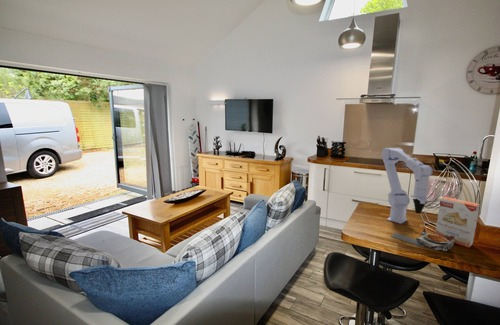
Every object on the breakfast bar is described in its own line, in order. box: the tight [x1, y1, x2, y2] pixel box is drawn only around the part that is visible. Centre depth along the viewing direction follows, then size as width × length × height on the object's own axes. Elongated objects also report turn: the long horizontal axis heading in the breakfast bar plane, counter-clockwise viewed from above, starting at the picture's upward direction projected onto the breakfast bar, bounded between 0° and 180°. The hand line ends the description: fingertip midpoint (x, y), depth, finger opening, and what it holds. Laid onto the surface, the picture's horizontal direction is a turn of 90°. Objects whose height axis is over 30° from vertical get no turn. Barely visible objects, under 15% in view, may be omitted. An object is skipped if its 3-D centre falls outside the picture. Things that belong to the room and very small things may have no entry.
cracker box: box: [434, 196, 481, 248], centre depth 123 cm, size 14×6×21 cm, turn 36°
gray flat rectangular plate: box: [390, 232, 426, 248], centre depth 125 cm, size 6×14×1 cm, turn 41°
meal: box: [415, 227, 455, 252], centre depth 121 cm, size 15×4×13 cm
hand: (418, 213), depth 133 cm, fingers closed
